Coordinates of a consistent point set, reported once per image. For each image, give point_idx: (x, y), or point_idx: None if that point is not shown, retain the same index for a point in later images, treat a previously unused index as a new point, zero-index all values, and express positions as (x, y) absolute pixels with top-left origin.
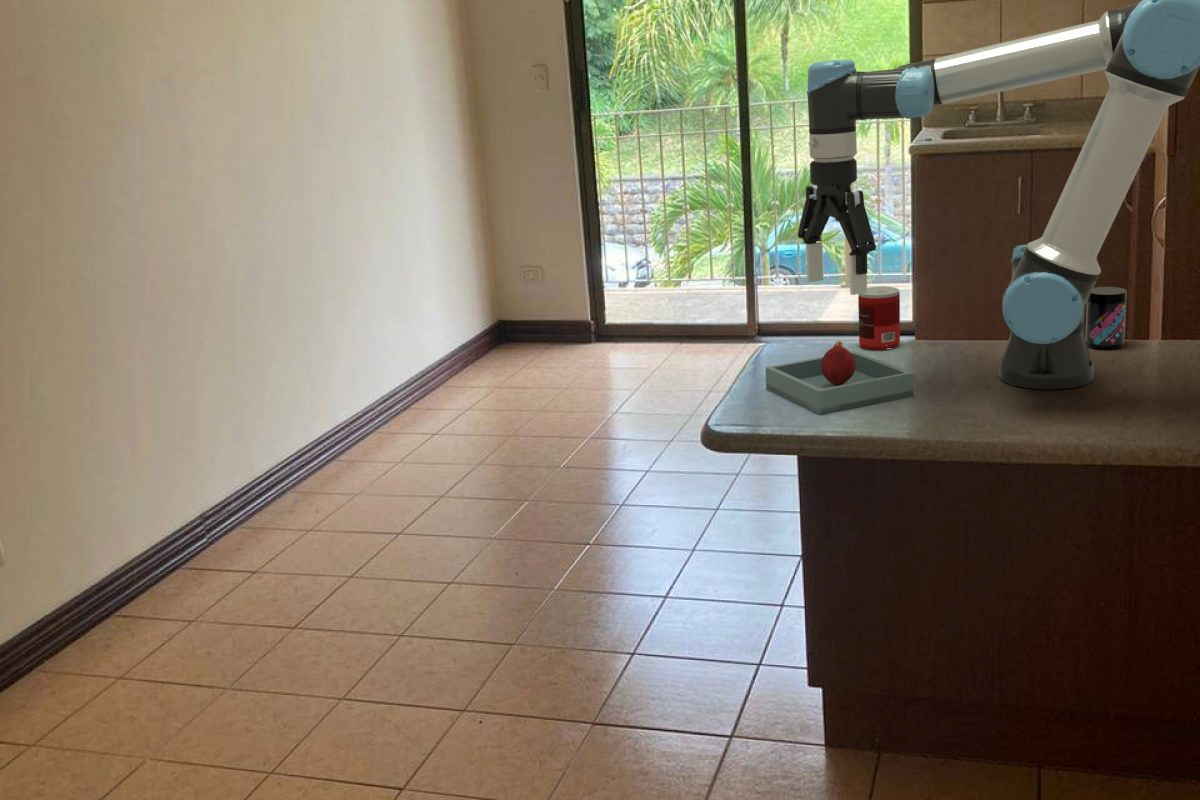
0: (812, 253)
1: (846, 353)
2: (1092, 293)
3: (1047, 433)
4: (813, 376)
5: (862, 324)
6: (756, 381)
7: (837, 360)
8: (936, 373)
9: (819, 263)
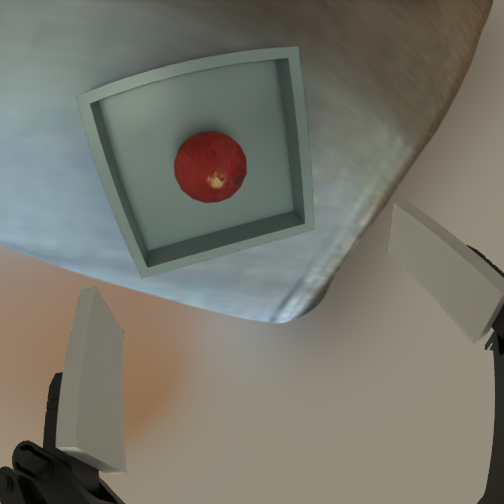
0: (111, 423)
1: (237, 163)
2: None
3: (453, 30)
4: (122, 181)
5: None
6: (97, 262)
7: (242, 182)
8: None
9: (95, 356)
